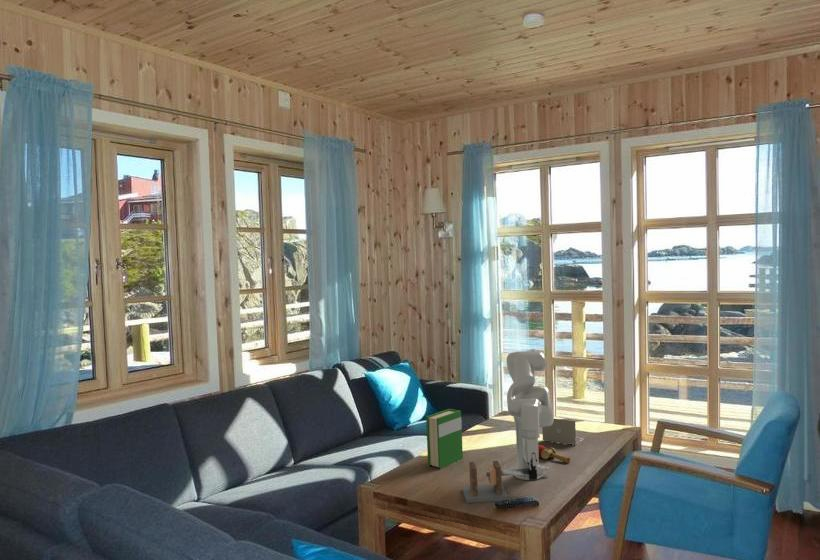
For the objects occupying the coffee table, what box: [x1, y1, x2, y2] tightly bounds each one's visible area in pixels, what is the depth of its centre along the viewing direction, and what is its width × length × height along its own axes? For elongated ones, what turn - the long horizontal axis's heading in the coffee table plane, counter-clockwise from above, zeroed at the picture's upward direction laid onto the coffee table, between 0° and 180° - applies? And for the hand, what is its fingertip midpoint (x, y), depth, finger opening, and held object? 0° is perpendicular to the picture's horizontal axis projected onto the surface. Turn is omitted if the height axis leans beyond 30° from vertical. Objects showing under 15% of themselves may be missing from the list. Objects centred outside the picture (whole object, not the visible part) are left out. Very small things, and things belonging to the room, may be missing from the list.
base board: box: [461, 484, 509, 504], centre depth 259 cm, size 17×14×2 cm
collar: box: [487, 464, 496, 485], centre depth 259 cm, size 2×6×6 cm, turn 2°
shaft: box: [485, 463, 538, 481], centre depth 259 cm, size 20×4×6 cm, turn 92°
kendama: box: [538, 444, 571, 464], centre depth 300 cm, size 8×6×18 cm
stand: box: [468, 460, 503, 496], centre depth 259 cm, size 12×8×11 cm, turn 92°
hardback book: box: [425, 408, 464, 469], centre depth 301 cm, size 18×7×24 cm, turn 138°
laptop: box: [541, 418, 584, 446], centre depth 330 cm, size 18×12×13 cm
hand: (531, 476), depth 259 cm, fingers closed on shaft, 4 cm apart
